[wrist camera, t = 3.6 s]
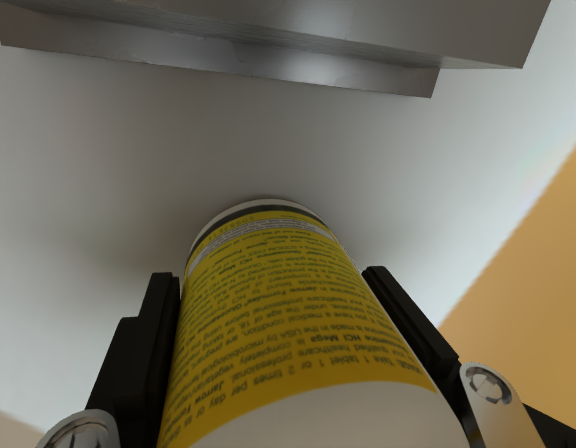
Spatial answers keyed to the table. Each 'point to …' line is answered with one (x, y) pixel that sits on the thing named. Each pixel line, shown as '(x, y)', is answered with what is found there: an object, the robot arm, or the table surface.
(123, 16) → the socket
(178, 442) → the pill bottle
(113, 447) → the robot arm
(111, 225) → the table surface
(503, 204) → the table surface
